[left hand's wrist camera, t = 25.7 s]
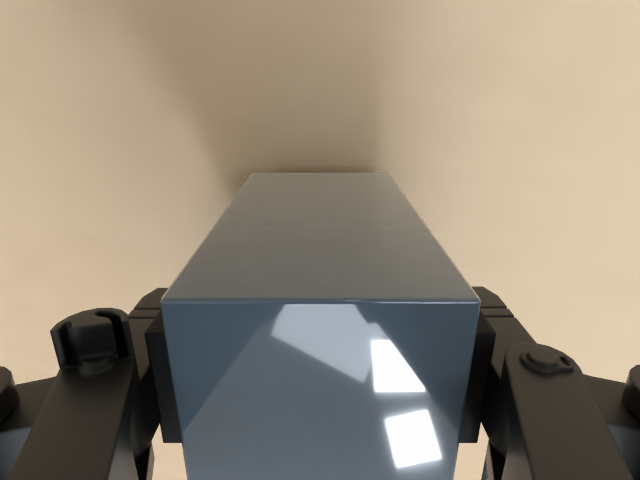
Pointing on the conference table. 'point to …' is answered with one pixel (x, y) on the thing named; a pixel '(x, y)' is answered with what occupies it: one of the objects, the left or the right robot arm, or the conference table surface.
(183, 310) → the block
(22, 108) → the conference table surface
